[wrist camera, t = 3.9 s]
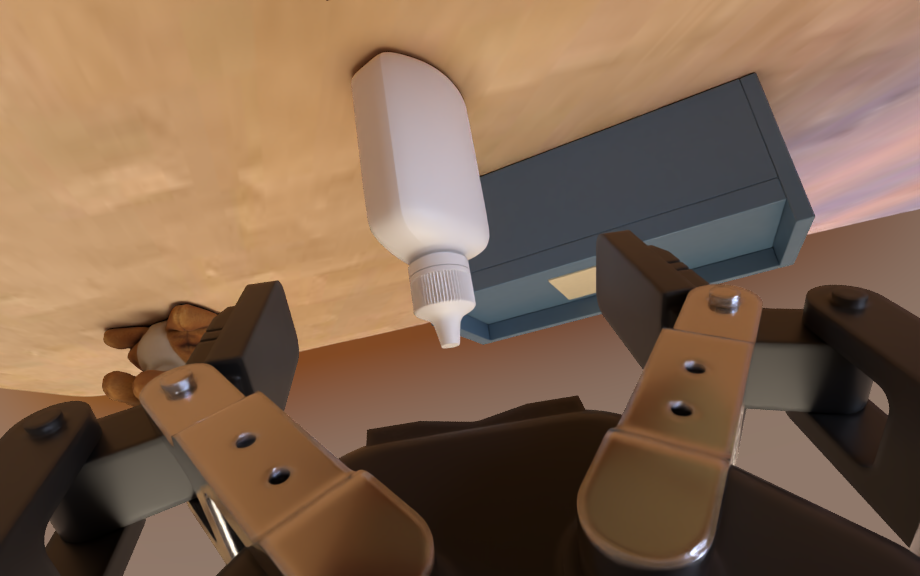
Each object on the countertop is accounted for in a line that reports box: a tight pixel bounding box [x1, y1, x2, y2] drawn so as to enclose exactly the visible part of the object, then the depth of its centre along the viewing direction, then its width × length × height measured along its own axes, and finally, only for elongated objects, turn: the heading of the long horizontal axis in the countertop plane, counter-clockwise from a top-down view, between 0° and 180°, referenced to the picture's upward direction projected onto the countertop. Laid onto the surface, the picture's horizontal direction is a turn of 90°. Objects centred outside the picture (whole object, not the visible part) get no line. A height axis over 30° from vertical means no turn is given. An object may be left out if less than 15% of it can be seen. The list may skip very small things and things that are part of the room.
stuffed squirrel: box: [102, 304, 217, 407], centre depth 49 cm, size 10×14×13 cm
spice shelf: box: [431, 73, 815, 344], centre depth 37 cm, size 20×16×8 cm
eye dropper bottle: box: [351, 52, 489, 348], centre depth 23 cm, size 4×6×12 cm
